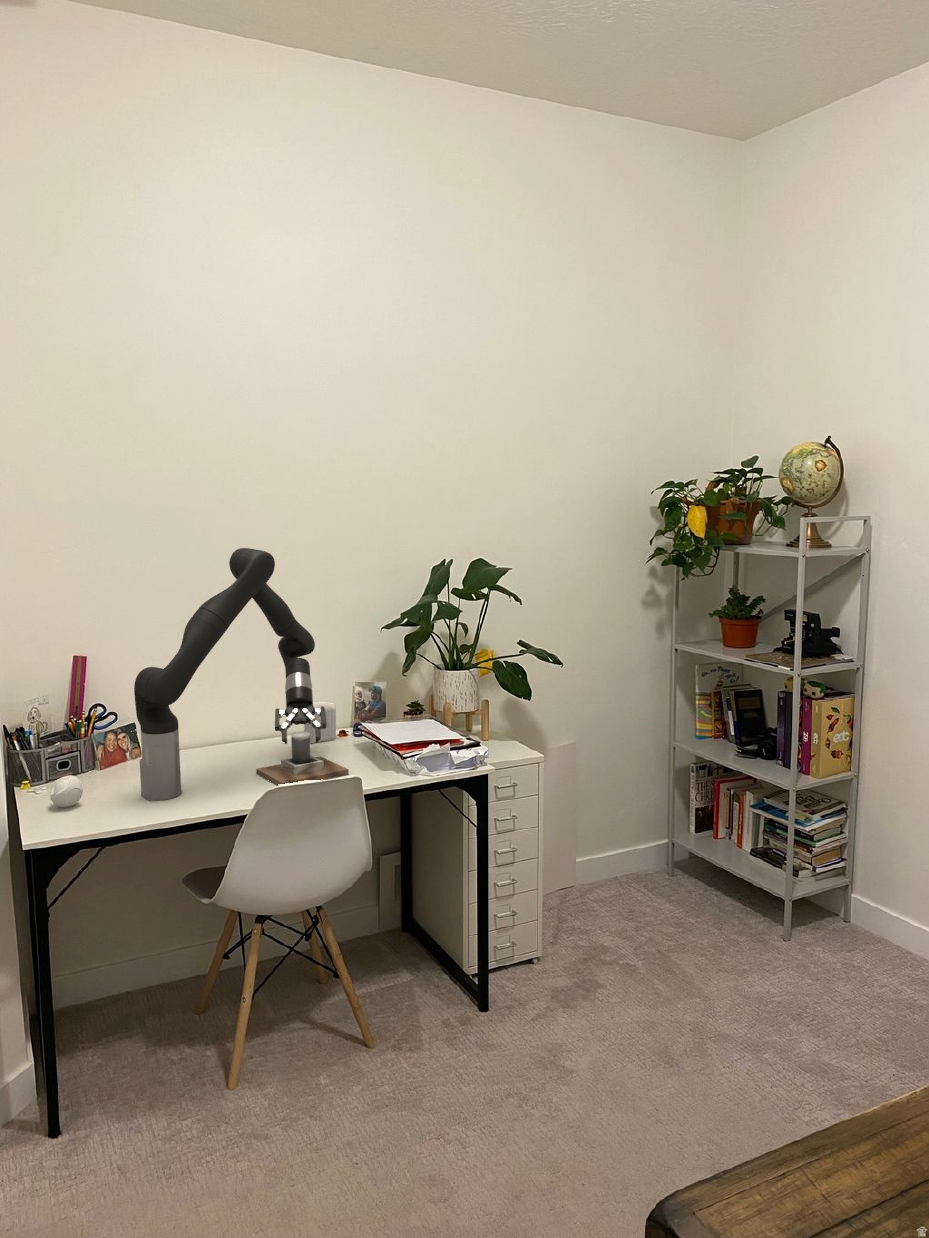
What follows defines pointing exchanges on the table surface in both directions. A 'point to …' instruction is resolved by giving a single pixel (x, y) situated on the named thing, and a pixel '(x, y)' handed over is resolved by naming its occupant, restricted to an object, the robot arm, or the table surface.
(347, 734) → the table surface
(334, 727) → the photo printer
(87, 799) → the table surface
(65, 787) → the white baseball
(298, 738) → the dark grey cylinder
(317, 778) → the mount board
